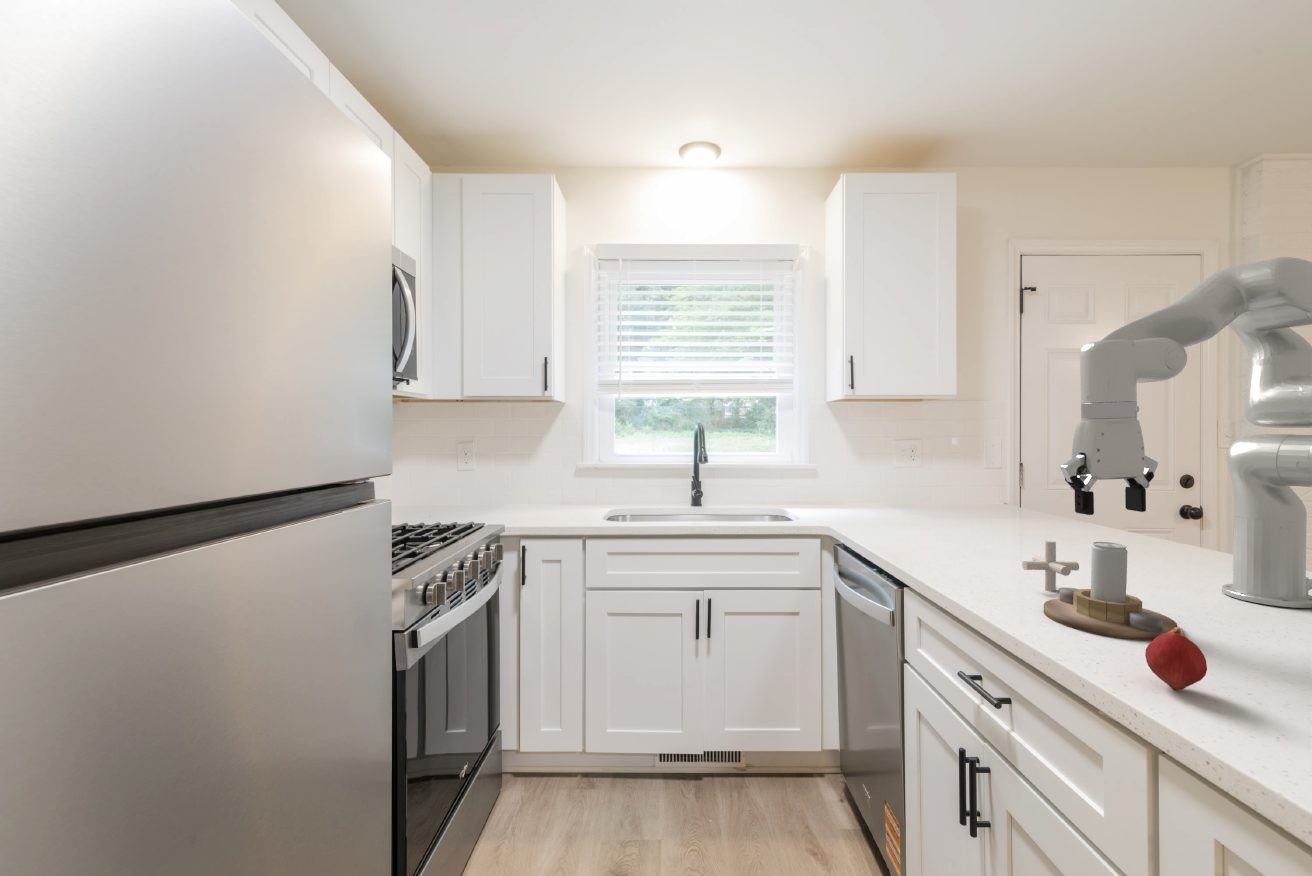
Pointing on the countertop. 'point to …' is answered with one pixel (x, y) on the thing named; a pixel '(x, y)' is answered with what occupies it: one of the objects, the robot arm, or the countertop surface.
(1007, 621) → the countertop surface
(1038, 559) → the pipe connector
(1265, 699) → the countertop surface
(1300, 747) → the countertop surface
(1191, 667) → the onion
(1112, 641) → the countertop surface
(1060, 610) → the carrier
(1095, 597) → the beverage can
